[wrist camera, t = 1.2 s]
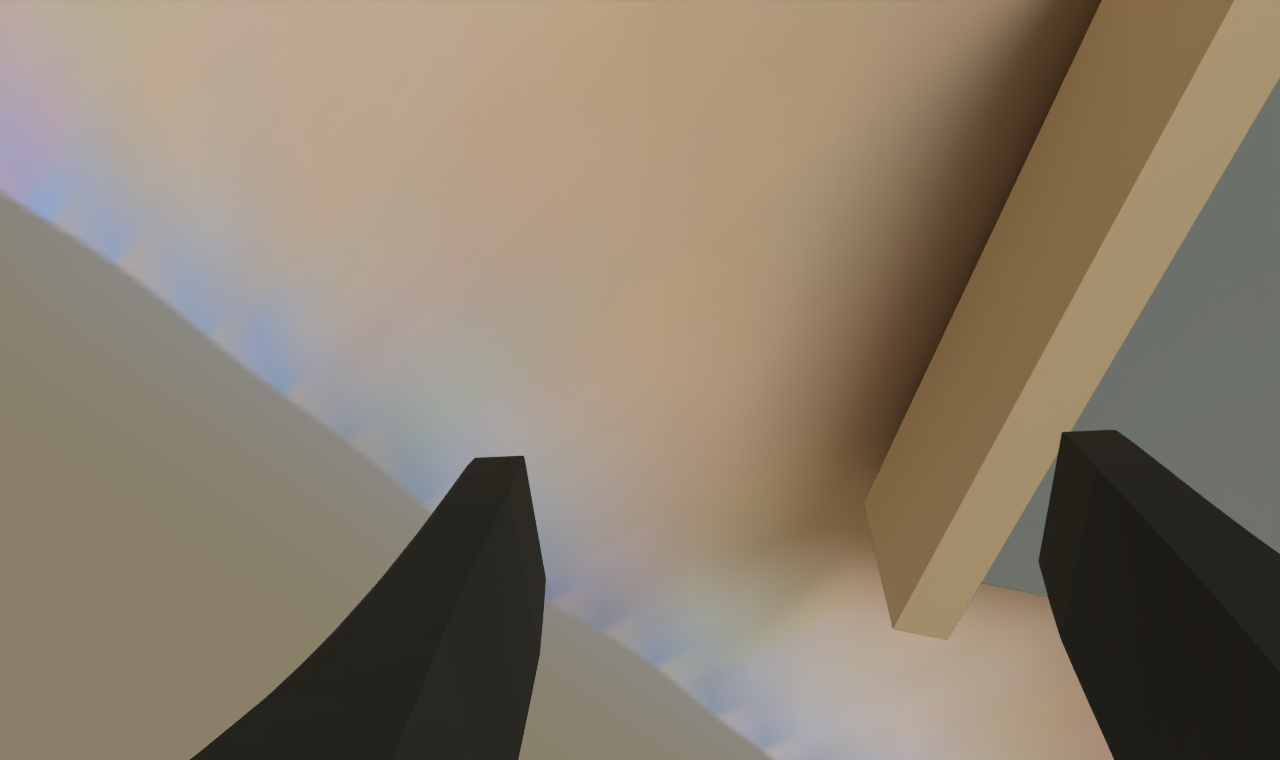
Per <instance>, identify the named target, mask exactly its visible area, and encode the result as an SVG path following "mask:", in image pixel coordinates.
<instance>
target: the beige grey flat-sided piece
mask: <svg viewBox="0 0 1280 760" xmlns="http://www.w3.org/2000/svg"><path fill="white" fill-rule="evenodd" d="M1094 430H1117V431H1118V432H1120V433H1121V434H1122V435H1124V436H1125V437H1127V438H1128V439H1129V440H1131V441H1132V442H1133V443H1135V444H1136V445H1137V446H1139V447H1140V448H1141V449H1142V450H1144V451H1145V452H1146V453H1148V454H1149V455H1150V456H1151V457H1153V458H1154V459H1155V460H1157V461H1158V462H1159V463H1160V464H1162V465H1163V466H1164V467H1166V468H1167V469H1168V470H1169V471H1171V472H1172V473H1173V474H1174V475H1176V476H1177V477H1178V478H1180V479H1181V480H1182V481H1183V482H1185V483H1186V484H1187V485H1189V486H1190V487H1191V488H1192V489H1194V490H1195V491H1196V492H1198V493H1199V494H1200V495H1201V496H1203V497H1204V498H1205V499H1207V500H1208V501H1209V502H1210V503H1212V504H1213V505H1214V506H1216V507H1217V508H1218V509H1220V510H1221V511H1222V512H1224V513H1225V514H1226V515H1227V516H1229V517H1230V518H1232V519H1233V520H1234V521H1236V522H1237V523H1238V524H1240V525H1241V526H1242V527H1244V528H1245V529H1246V530H1248V531H1249V532H1250V533H1252V534H1253V535H1254V536H1256V537H1257V538H1258V539H1260V540H1261V541H1263V542H1264V543H1265V544H1267V545H1268V546H1269V547H1271V548H1272V549H1274V550H1275V551H1277V552H1278V553H1279V554H1280V0H1102V1H1101V3H1100V5H1099V7H1098V9H1097V11H1096V13H1095V16H1094V18H1093V20H1092V22H1091V24H1090V26H1089V28H1088V30H1087V32H1086V35H1085V37H1084V39H1083V41H1082V43H1081V45H1080V47H1079V49H1078V52H1077V54H1076V56H1075V58H1074V60H1073V62H1072V64H1071V66H1070V68H1069V71H1068V73H1067V75H1066V77H1065V79H1064V81H1063V83H1062V85H1061V87H1060V90H1059V92H1058V94H1057V96H1056V98H1055V100H1054V102H1053V104H1052V106H1051V109H1050V111H1049V113H1048V115H1047V117H1046V119H1045V121H1044V123H1043V126H1042V128H1041V130H1040V132H1039V134H1038V136H1037V138H1036V140H1035V142H1034V145H1033V147H1032V149H1031V151H1030V153H1029V155H1028V157H1027V159H1026V161H1025V164H1024V166H1023V168H1022V170H1021V172H1020V174H1019V176H1018V178H1017V180H1016V183H1015V185H1014V187H1013V189H1012V191H1011V193H1010V195H1009V197H1008V199H1007V202H1006V204H1005V206H1004V208H1003V210H1002V212H1001V214H1000V216H999V219H998V221H997V223H996V225H995V227H994V229H993V231H992V233H991V235H990V238H989V240H988V242H987V244H986V246H985V248H984V250H983V252H982V254H981V257H980V259H979V261H978V263H977V265H976V267H975V269H974V271H973V273H972V276H971V278H970V280H969V282H968V284H967V286H966V288H965V290H964V293H963V295H962V297H961V299H960V301H959V303H958V305H957V307H956V309H955V312H954V314H953V316H952V318H951V320H950V322H949V324H948V326H947V328H946V331H945V333H944V335H943V337H942V339H941V341H940V343H939V345H938V347H937V350H936V352H935V354H934V356H933V358H932V360H931V362H930V364H929V367H928V369H927V371H926V373H925V375H924V377H923V379H922V381H921V383H920V386H919V388H918V390H917V392H916V394H915V396H914V398H913V400H912V402H911V405H910V407H909V409H908V411H907V413H906V415H905V417H904V419H903V421H902V424H901V426H900V428H899V430H898V432H897V434H896V436H895V438H894V441H893V443H892V445H891V447H890V449H889V451H888V453H887V455H886V457H885V460H884V462H883V464H882V466H881V468H880V470H879V472H878V474H877V476H876V479H875V481H874V483H873V485H872V487H871V489H870V491H869V493H868V495H867V498H866V500H865V502H864V508H865V512H866V516H867V521H868V525H869V529H870V533H871V538H872V542H873V546H874V550H875V555H876V559H877V563H878V567H879V572H880V576H881V580H882V584H883V589H884V593H885V597H886V602H887V606H888V610H889V614H890V619H891V623H892V627H893V629H894V630H899V631H904V632H909V633H914V634H920V635H925V636H930V637H935V638H940V639H945V640H948V638H949V637H950V635H951V633H952V631H953V630H954V628H955V626H956V625H957V623H958V621H959V620H960V618H961V616H962V615H963V613H964V611H965V609H966V608H967V606H968V604H969V603H970V601H971V599H972V598H973V596H974V594H975V593H976V591H977V589H978V587H979V586H980V584H981V583H983V584H988V585H993V586H998V587H1003V588H1008V589H1013V590H1017V591H1022V592H1027V593H1032V594H1037V595H1042V596H1047V597H1048V595H1047V591H1046V587H1045V584H1044V580H1043V577H1042V573H1041V569H1040V566H1039V562H1038V560H1039V555H1040V549H1041V544H1042V538H1043V533H1044V527H1045V522H1046V516H1047V511H1048V505H1049V500H1050V494H1051V489H1052V483H1053V478H1054V472H1055V467H1056V461H1057V456H1058V450H1059V445H1060V440H1061V434H1062V432H1072V431H1094Z"/></svg>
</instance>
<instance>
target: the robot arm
mask: <svg viewBox="0 0 1280 760" xmlns="http://www.w3.org/2000/svg"><path fill="white" fill-rule="evenodd" d="M1038 562H1039V566H1040V569H1041V573H1042V577H1043V580H1044V584H1045V587H1046V591H1047V595H1048V598H1049V602H1050V605H1051V609H1052V612H1053V615H1054V618H1055V622H1056V625H1057V628H1058V631H1059V635H1060V638H1061V640H1062V642H1063V645H1064V647H1065V650H1066V652H1067V654H1068V657H1069V659H1070V661H1071V663H1072V666H1073V668H1074V670H1075V673H1076V675H1077V677H1078V679H1079V682H1080V684H1081V686H1082V688H1083V691H1084V693H1085V695H1086V698H1087V700H1088V702H1089V704H1090V706H1091V709H1092V711H1093V713H1094V715H1095V718H1096V720H1097V722H1098V724H1099V727H1100V729H1101V731H1102V733H1103V735H1104V738H1105V740H1106V742H1107V744H1108V747H1109V749H1110V751H1111V753H1112V756H1113V758H1114V760H1280V554H1279V553H1278V552H1277V551H1275V550H1274V549H1272V548H1271V547H1269V546H1268V545H1267V544H1265V543H1264V542H1263V541H1261V540H1260V539H1258V538H1257V537H1256V536H1254V535H1253V534H1252V533H1250V532H1249V531H1248V530H1246V529H1245V528H1244V527H1242V526H1241V525H1240V524H1238V523H1237V522H1236V521H1234V520H1233V519H1232V518H1230V517H1229V516H1227V515H1226V514H1225V513H1224V512H1222V511H1221V510H1220V509H1218V508H1217V507H1216V506H1214V505H1213V504H1212V503H1210V502H1209V501H1208V500H1207V499H1205V498H1204V497H1203V496H1201V495H1200V494H1199V493H1198V492H1196V491H1195V490H1194V489H1192V488H1191V487H1190V486H1189V485H1187V484H1186V483H1185V482H1183V481H1182V480H1181V479H1180V478H1178V477H1177V476H1176V475H1174V474H1173V473H1172V472H1171V471H1169V470H1168V469H1167V468H1166V467H1164V466H1163V465H1162V464H1160V463H1159V462H1158V461H1157V460H1155V459H1154V458H1153V457H1151V456H1150V455H1149V454H1148V453H1146V452H1145V451H1144V450H1142V449H1141V448H1140V447H1139V446H1137V445H1136V444H1135V443H1133V442H1132V441H1131V440H1129V439H1128V438H1127V437H1125V436H1124V435H1122V434H1121V433H1120V432H1118V431H1117V430H1094V431H1072V432H1062V434H1061V440H1060V445H1059V450H1058V456H1057V461H1056V467H1055V472H1054V478H1053V483H1052V489H1051V494H1050V500H1049V505H1048V511H1047V516H1046V522H1045V527H1044V533H1043V538H1042V544H1041V549H1040V555H1039V560H1038ZM545 583H546V577H545V571H544V566H543V560H542V555H541V549H540V543H539V538H538V532H537V526H536V521H535V515H534V510H533V504H532V498H531V493H530V487H529V481H528V476H527V470H526V465H525V459H524V456H508V457H486V458H474V459H473V461H472V462H471V463H470V464H469V465H468V466H467V467H466V468H465V470H464V471H463V472H462V474H461V475H460V477H459V478H458V479H457V481H456V482H455V483H454V485H453V486H452V488H451V489H450V490H449V492H448V493H447V494H446V496H445V497H444V499H443V500H442V501H441V503H440V504H439V505H438V507H437V508H436V509H435V511H434V512H433V513H432V515H431V516H430V517H429V519H428V520H427V521H426V523H425V524H424V525H423V527H422V528H421V530H420V531H419V532H418V533H417V535H416V536H415V537H414V538H413V540H412V541H411V542H410V543H409V545H408V546H407V547H406V548H405V549H404V551H403V552H402V553H401V554H400V556H399V557H398V558H397V559H396V561H395V562H394V563H393V564H392V566H391V567H390V568H389V570H388V571H387V572H386V573H385V574H384V576H383V577H382V578H381V579H380V580H379V581H378V583H377V584H376V585H375V586H374V587H373V588H372V590H371V591H370V592H369V593H368V594H367V595H366V596H365V597H364V598H363V600H362V601H361V602H360V603H359V604H358V605H357V606H356V607H355V609H354V610H353V611H352V612H351V613H350V614H349V615H348V616H347V617H346V619H345V620H344V621H343V622H342V623H341V624H340V625H339V626H338V628H337V629H336V630H335V631H334V632H333V633H332V634H331V635H330V636H329V637H328V638H327V639H326V640H325V641H324V642H323V643H322V644H321V645H320V646H319V647H318V648H317V649H316V650H315V652H313V653H312V654H311V655H310V657H308V658H307V659H306V660H305V662H303V663H302V664H301V665H300V666H299V667H298V668H297V669H296V670H295V671H294V672H293V673H292V674H291V675H290V676H289V677H288V678H286V679H285V680H284V681H283V682H282V683H281V684H280V685H279V686H278V687H277V688H276V689H275V690H274V691H273V692H272V693H271V694H269V695H268V696H267V697H266V698H265V699H264V700H263V701H261V702H260V703H259V704H258V705H257V706H255V707H254V708H253V709H252V710H250V711H249V712H248V713H247V714H246V715H244V716H243V717H242V718H241V719H240V720H238V721H237V722H236V723H235V724H233V725H232V726H231V727H230V728H229V729H227V730H226V731H225V732H224V733H222V734H221V735H220V736H219V737H218V738H216V739H215V740H214V741H213V742H211V743H210V744H209V745H208V746H207V747H205V748H204V749H203V750H202V751H200V752H199V753H198V754H197V755H195V756H194V757H193V758H192V759H190V760H518V758H519V753H520V748H521V744H522V738H523V734H524V729H525V724H526V720H527V715H528V710H529V705H530V700H531V695H532V690H533V685H534V680H535V675H536V670H537V665H538V660H539V655H540V646H541V634H542V623H543V610H544V597H545Z"/></svg>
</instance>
